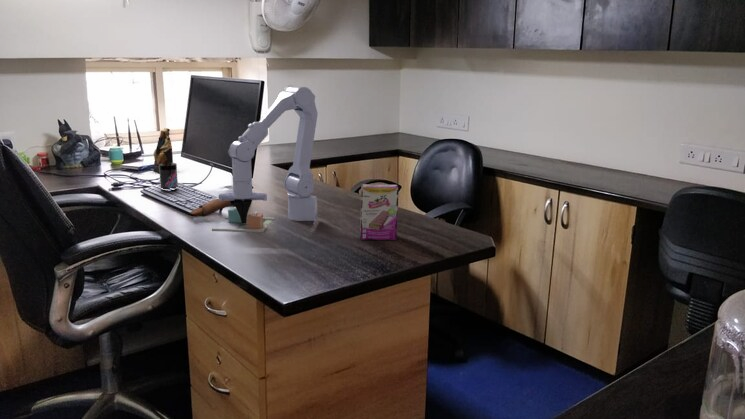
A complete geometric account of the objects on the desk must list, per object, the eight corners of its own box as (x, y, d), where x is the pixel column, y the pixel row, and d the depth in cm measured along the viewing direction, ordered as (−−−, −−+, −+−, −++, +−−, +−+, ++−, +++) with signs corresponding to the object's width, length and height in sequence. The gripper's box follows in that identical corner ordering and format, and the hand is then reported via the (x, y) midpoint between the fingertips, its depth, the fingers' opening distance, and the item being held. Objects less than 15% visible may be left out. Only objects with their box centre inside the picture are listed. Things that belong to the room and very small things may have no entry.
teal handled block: (244, 219, 200) (243, 205, 199) (240, 222, 197) (240, 208, 195) (232, 219, 201) (231, 205, 200) (228, 222, 197) (228, 208, 196)
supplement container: (161, 192, 243) (159, 166, 240) (159, 188, 249) (157, 163, 246) (179, 190, 246) (177, 165, 243) (176, 187, 252) (175, 162, 249)
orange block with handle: (263, 225, 194) (262, 211, 193) (260, 229, 190) (260, 214, 189) (250, 225, 194) (250, 211, 193) (247, 228, 190) (247, 214, 189)
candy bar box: (360, 240, 184) (360, 187, 180) (360, 235, 189) (360, 183, 185) (397, 240, 185) (398, 187, 181) (396, 236, 190) (397, 184, 186)
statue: (151, 171, 285) (148, 128, 281) (168, 169, 290) (165, 127, 285) (160, 175, 276) (157, 130, 271) (177, 173, 281) (175, 129, 276)
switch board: (274, 223, 202) (273, 217, 201) (263, 236, 187) (263, 230, 187) (226, 221, 203) (225, 216, 202) (212, 234, 188) (211, 228, 188)
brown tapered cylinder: (210, 205, 223) (218, 190, 221) (225, 216, 222) (233, 201, 220) (182, 217, 206) (190, 201, 204) (198, 229, 206) (207, 213, 203)
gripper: (267, 177, 193) (268, 219, 196) (220, 177, 192) (222, 219, 195) (265, 182, 186) (266, 225, 190) (216, 182, 185) (219, 225, 188)
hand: (244, 222), depth 192 cm, fingers closed
